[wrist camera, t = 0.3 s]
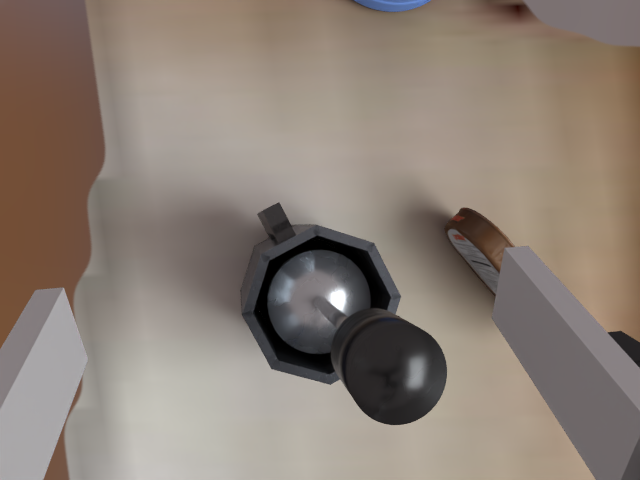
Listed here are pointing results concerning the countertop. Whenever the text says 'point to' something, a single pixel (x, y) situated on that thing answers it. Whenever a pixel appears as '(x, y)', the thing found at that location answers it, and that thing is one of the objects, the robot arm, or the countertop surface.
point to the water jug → (392, 4)
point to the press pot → (273, 255)
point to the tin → (478, 244)
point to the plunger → (357, 336)
